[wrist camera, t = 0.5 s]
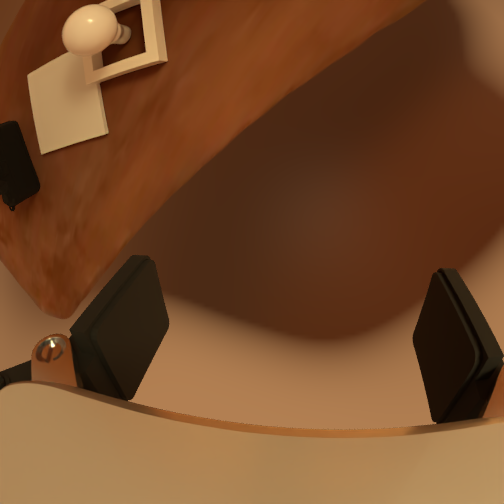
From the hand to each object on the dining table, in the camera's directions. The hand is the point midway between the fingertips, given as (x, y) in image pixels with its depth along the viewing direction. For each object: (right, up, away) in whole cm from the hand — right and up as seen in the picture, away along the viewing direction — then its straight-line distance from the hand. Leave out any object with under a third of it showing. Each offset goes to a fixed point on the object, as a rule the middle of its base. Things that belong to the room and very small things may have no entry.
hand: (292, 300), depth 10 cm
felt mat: (-29, +24, +25) cm, 45 cm away
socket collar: (-17, +29, +20) cm, 40 cm away
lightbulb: (-17, +29, +20) cm, 40 cm away
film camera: (-43, +17, +32) cm, 56 cm away
